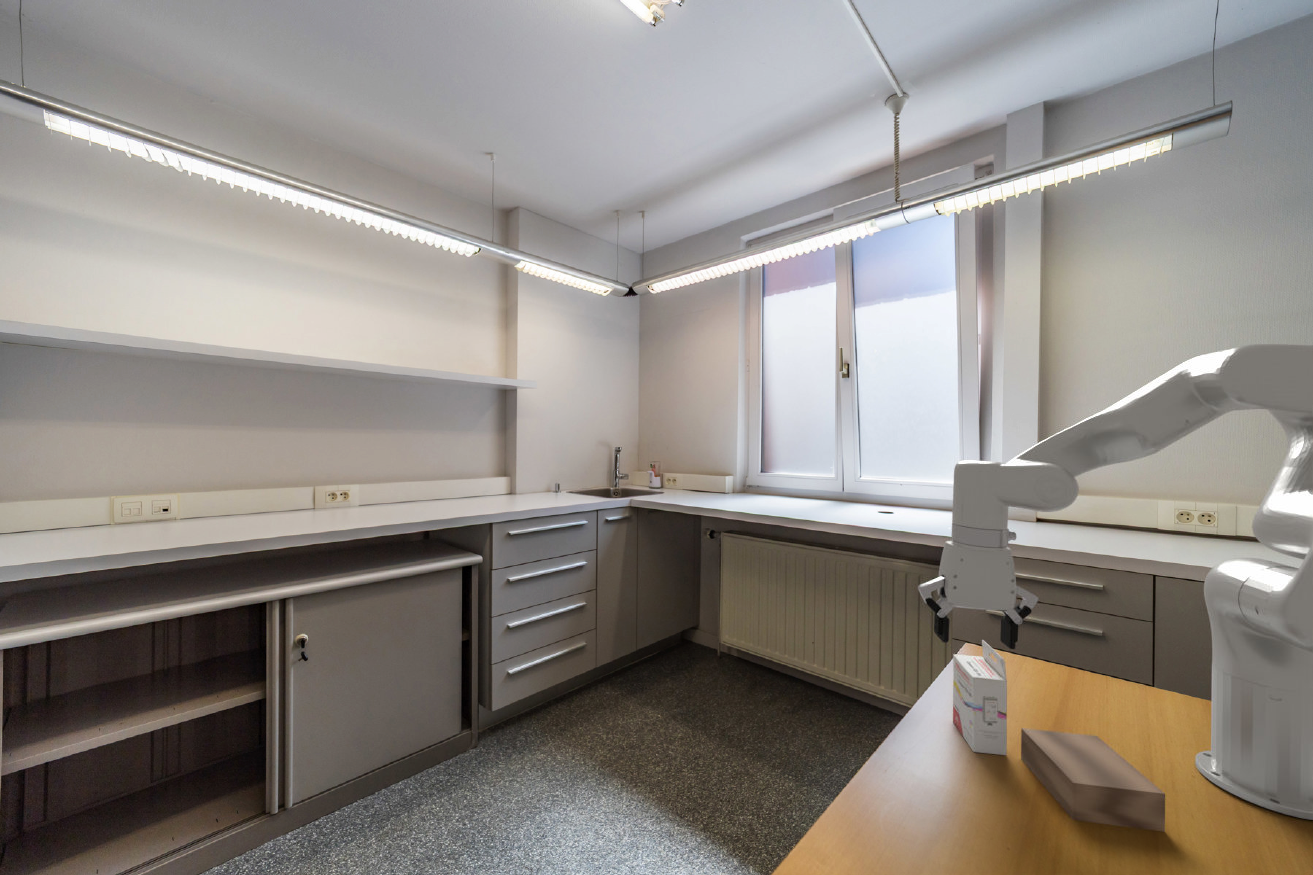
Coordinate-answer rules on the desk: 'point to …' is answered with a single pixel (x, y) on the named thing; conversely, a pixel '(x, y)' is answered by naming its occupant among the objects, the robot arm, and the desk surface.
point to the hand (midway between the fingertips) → (974, 642)
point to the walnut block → (1092, 780)
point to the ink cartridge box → (981, 700)
